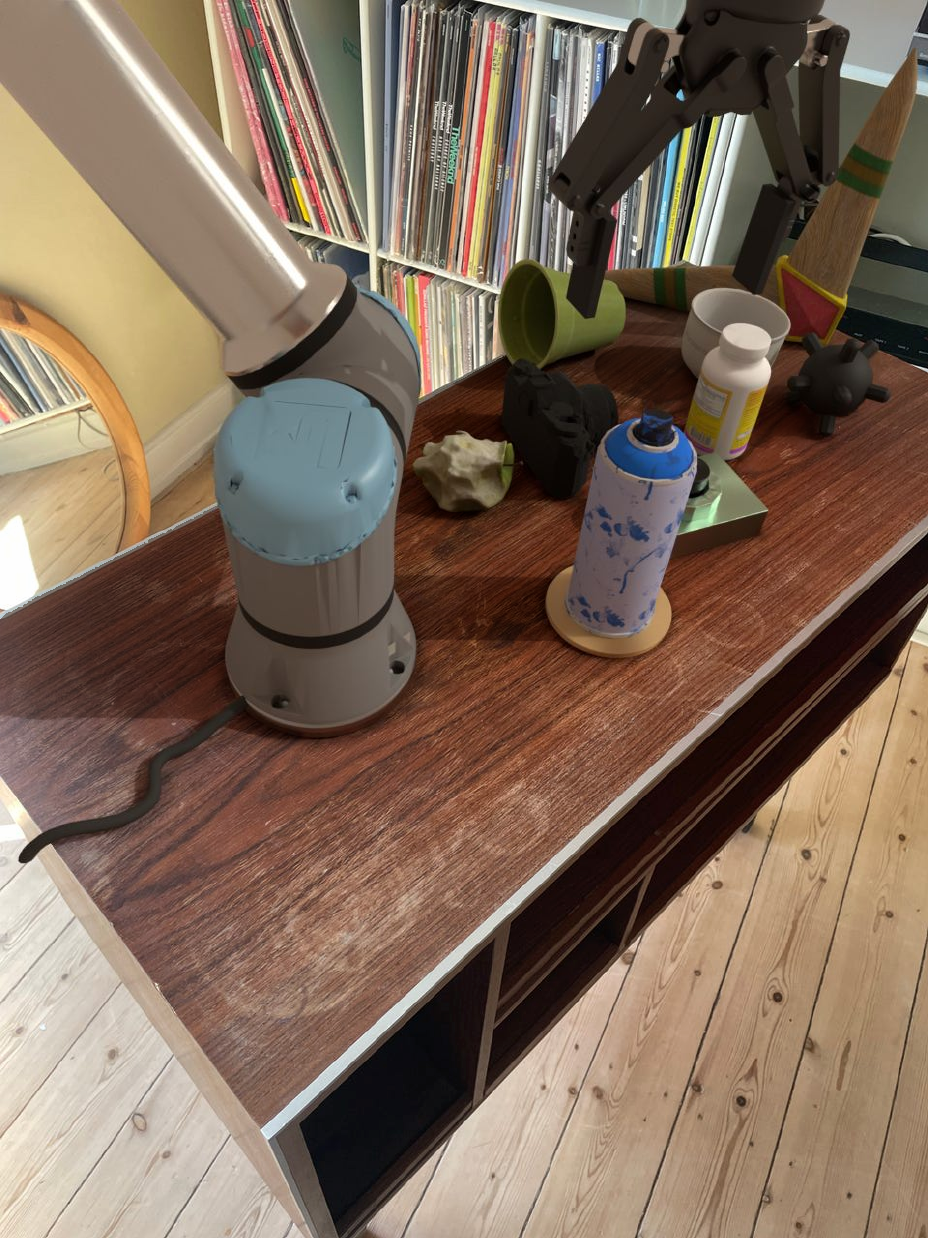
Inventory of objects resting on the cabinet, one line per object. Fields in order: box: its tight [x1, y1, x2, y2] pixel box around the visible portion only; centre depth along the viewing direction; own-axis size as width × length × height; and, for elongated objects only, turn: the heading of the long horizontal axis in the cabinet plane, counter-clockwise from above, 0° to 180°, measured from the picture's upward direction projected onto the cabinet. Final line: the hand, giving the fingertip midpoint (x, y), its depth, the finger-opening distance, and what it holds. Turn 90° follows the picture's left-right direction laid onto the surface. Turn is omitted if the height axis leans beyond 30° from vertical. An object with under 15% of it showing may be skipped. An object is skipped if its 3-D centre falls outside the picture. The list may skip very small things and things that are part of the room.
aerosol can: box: [565, 408, 698, 639], centre depth 74 cm, size 8×8×20 cm
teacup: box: [680, 288, 790, 379], centre depth 103 cm, size 14×11×8 cm
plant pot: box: [497, 258, 627, 371], centre depth 105 cm, size 12×12×11 cm
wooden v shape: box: [604, 46, 919, 346], centre depth 108 cm, size 22×41×6 cm
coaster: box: [545, 564, 672, 659], centre depth 82 cm, size 11×11×1 cm
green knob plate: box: [669, 452, 770, 561], centre depth 89 cm, size 11×9×5 cm
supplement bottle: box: [683, 323, 772, 461], centre depth 94 cm, size 7×7×13 cm
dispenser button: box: [688, 456, 710, 498], centre depth 86 cm, size 4×4×2 cm
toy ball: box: [784, 332, 892, 438], centre depth 99 cm, size 11×11×12 cm
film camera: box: [500, 359, 620, 500], centre depth 93 cm, size 15×10×9 cm, turn 22°
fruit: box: [412, 430, 524, 513], centre depth 89 cm, size 9×9×8 cm
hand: (666, 296), depth 64 cm, fingers open, 13 cm apart
